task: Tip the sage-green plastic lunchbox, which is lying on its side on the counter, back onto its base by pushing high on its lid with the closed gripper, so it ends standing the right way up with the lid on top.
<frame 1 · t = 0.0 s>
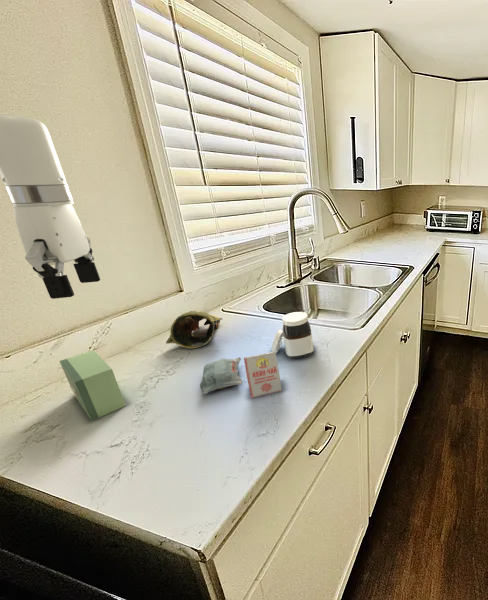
hand: (77, 289, 63), 28 cm above the worktop, tool pointing down, fingers open, 9 cm apart
cream red carton: (266, 391, 79), on the worktop
pot: (202, 341, 103), on the worktop
packaged food: (225, 382, 82), on the worktop
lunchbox: (100, 401, 75), on the worktop
spread jar: (293, 353, 95), on the worktop
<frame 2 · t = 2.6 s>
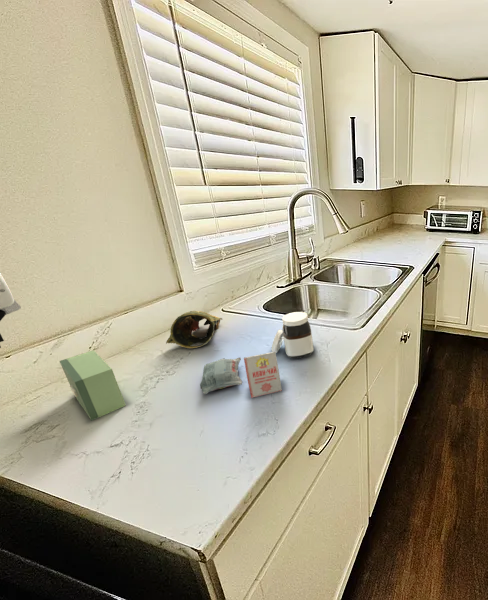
nothing on the worktop moved.
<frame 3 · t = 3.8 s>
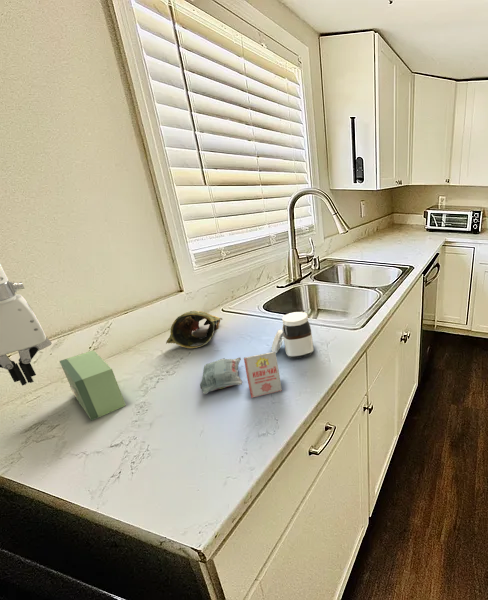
hand: (26, 381, 65), 11 cm above the worktop, tool pointing down, fingers closed
nothing on the worktop moved.
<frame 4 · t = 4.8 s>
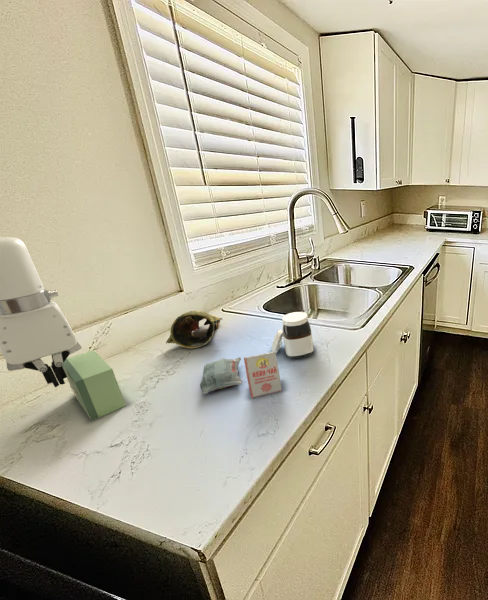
hand: (58, 383, 69), 8 cm above the worktop, tool pointing down, fingers closed
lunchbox: (100, 401, 75), on the worktop, touching gripper
everything else where it was.
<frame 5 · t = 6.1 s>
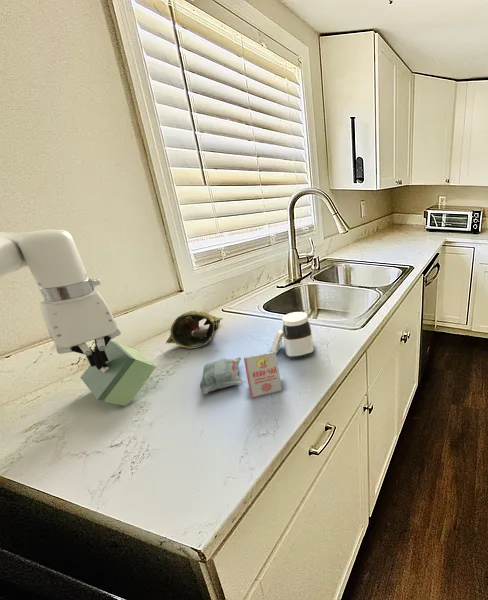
hand: (101, 366, 74), 8 cm above the worktop, tool pointing down, fingers closed
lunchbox: (102, 391, 75), point 2 cm above the worktop, tilted 48°, touching gripper
everything else where it was.
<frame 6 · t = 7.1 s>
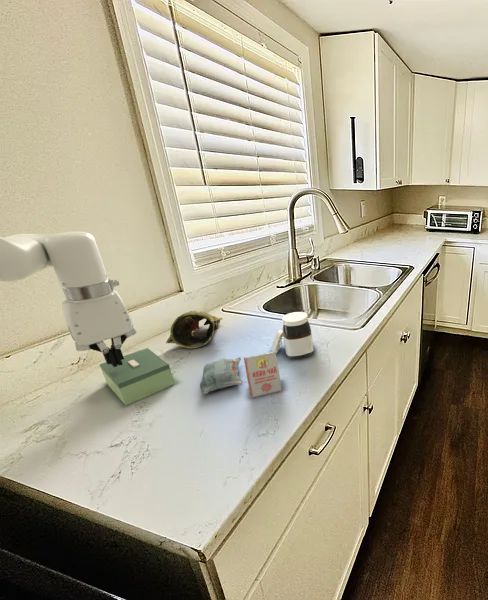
hand: (116, 364, 76), 8 cm above the worktop, tool pointing down, fingers closed
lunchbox: (112, 384, 77), point 3 cm above the worktop, tilted 90°
everything else where it was.
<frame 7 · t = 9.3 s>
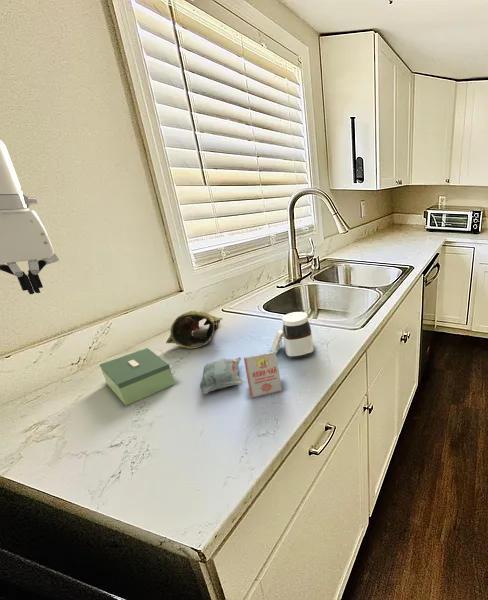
hand: (34, 292, 70), 26 cm above the worktop, tool pointing down, fingers closed
nothing on the worktop moved.
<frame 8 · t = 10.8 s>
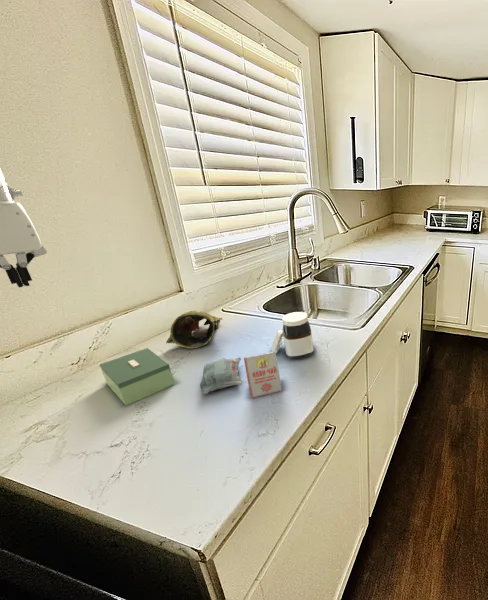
hand: (23, 285, 70), 27 cm above the worktop, tool pointing down, fingers closed
nothing on the worktop moved.
at the end: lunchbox tilted 90°; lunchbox inside the target area (1.0 cm from its centre), point 3.0 cm above the worktop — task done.
